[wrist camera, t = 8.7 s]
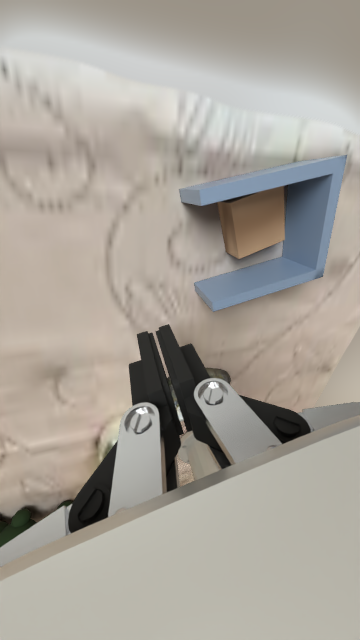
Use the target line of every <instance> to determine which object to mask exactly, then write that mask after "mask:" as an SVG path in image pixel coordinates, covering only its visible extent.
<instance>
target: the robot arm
mask: <svg viewBox="0 0 360 640" xmlns="http://www.w3.org/2000/svg"><path fill="white" fill-rule="evenodd" d="M156 335H157V338H158V341H159V344H160V348H161V351H162V354H163V357H164V361H165V364H166V367H167V370H168V373H169V377H170V380H171V383H172V386H173V389H174V392H175V395H176V398H177V401H178V404H179V407H180V410H181V414H182V417H183V420H184V423H185V426H186V429H187V432H186V433H185V434H184V433H183V430H182V426H181V423H180V420H179V417H178V413H177V410H176V407H175V403H174V400H173V397H172V394H171V390H170V387H169V384H168V381H167V377H166V374H165V371H164V368H163V365H162V361H161V358H160V355H159V352H158V349H157V346H156V343H155V340H154V336H153V333H149V334H148V332H147V331H146V332H143V333H140V334H137V338H138V344H139V349H140V355H141V360H140V361H137V362H134V363H131V364H129V373H130V383H131V394H132V404H133V406H132V407H131V408H129V409H128V410H127V411H126V412H125V414H124V415H123V417H122V419H121V423H120V429H119V436H118V441H117V442H116V443H115V445H114V446H113V448H112V449H111V450H110V452H109V453H108V454H107V456H106V457H105V458H104V460H103V461H102V462H101V464H100V465H99V466H98V468H97V469H96V470H95V472H94V473H93V474H92V476H91V477H90V478H89V480H88V481H87V483H86V484H85V485H84V487H83V488H82V489H81V491H80V492H79V493H78V495H77V496H76V498H75V500H74V501H73V503H72V504H71V505H69V506H68V507H65V506H62V507H61V508H59V509H58V510H56V511H55V512H53V513H52V514H50V515H49V516H47V517H46V518H44V519H43V520H41V521H40V522H38V523H37V524H35V525H33V526H32V527H30V528H29V529H27V530H26V531H24V532H23V533H21V534H20V535H18V536H17V537H15V538H14V539H12V540H11V541H9V542H8V543H6V544H5V545H3V546H2V547H0V640H360V402H351V403H344V404H337V405H331V406H323V407H316V408H309V409H302V412H301V413H296V412H294V411H291V410H289V409H285V408H282V407H278V406H275V405H272V404H268V403H265V402H261V401H258V400H254V399H251V398H248V397H244V396H241V395H238V394H237V393H236V392H235V390H234V389H233V388H232V387H231V386H230V385H229V384H228V383H227V382H226V381H224V380H222V379H218V378H210V376H209V374H208V372H207V370H206V369H205V367H204V365H203V363H202V361H201V360H200V358H199V356H198V354H197V352H196V351H195V349H194V347H193V345H192V344H188V345H185V346H182V347H179V345H178V343H177V341H176V339H175V336H174V334H173V332H172V330H171V328H170V326H169V324H168V325H165V326H162V327H159V331H156ZM182 434H184V435H183V436H182V438H181V439H180V437H179V435H182ZM177 453H178V456H179V458H180V459H181V460H182V461H183V462H185V463H189V464H190V466H191V470H192V473H193V476H194V480H195V481H193V482H191V483H188V484H186V485H184V486H181V487H180V483H179V474H178V464H177V458H176V455H177Z"/></svg>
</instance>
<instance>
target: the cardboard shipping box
mask: <svg viewBox="0 0 360 640" xmlns="http://www.w3.org/2000/svg"><path fill="white" fill-rule="evenodd" d="M217 205H218V210H219V216H220V221H221V227H222V233H223V238H224V244H225V249H226V252H227V253H229V254H231V255H232V256H234V257H236V258H238V259H240V258H243V257H245V256H248V255H250V254H252V253H255V252H257V251H259V250H262V249H264V248H267V247H269V246H271V245H274V244H276V243H278V242H281V241H283V240H285V219H284V186H280V187H276V188H272V189H268V190H264V191H260V192H256V193H252V194H247V195H243V196H239V197H235V198H231V199H227V200H223V201H219V202H217Z"/></svg>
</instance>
